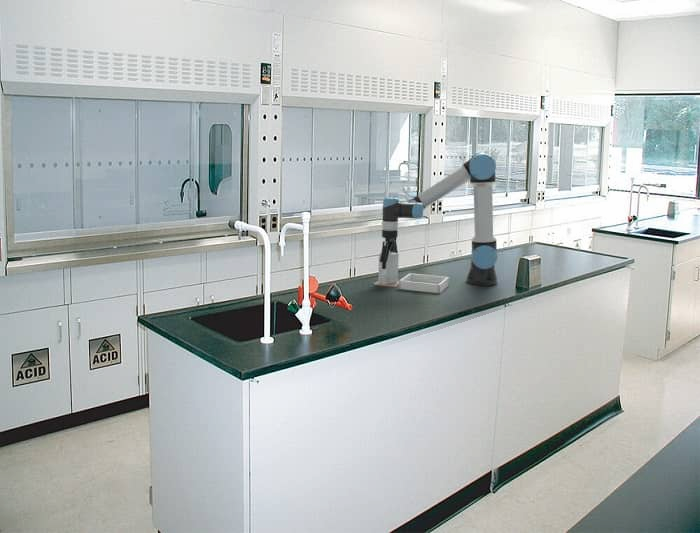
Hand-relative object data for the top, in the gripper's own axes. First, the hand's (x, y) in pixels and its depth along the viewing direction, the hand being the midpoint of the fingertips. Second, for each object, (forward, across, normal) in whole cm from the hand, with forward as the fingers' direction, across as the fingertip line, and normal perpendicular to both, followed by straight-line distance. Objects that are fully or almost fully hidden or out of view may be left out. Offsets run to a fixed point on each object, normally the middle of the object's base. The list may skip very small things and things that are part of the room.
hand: (388, 272), depth 340 cm
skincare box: (+5, +1, 0) cm, 5 cm away
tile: (+6, 0, 0) cm, 6 cm away
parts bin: (+6, -1, +18) cm, 19 cm away
